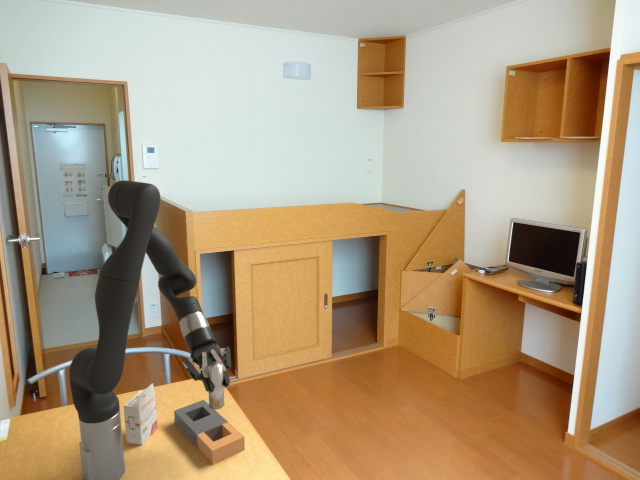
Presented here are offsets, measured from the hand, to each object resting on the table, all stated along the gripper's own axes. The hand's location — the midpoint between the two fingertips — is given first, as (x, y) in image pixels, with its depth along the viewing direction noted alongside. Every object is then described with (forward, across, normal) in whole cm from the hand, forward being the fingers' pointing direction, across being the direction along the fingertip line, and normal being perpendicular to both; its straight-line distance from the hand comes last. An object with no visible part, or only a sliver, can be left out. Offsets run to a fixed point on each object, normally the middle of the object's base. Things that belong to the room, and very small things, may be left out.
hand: (219, 388), depth 126 cm
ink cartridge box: (-1, -15, +27) cm, 31 cm away
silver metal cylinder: (+3, 0, +6) cm, 6 cm away
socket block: (+7, 0, +18) cm, 20 cm away
